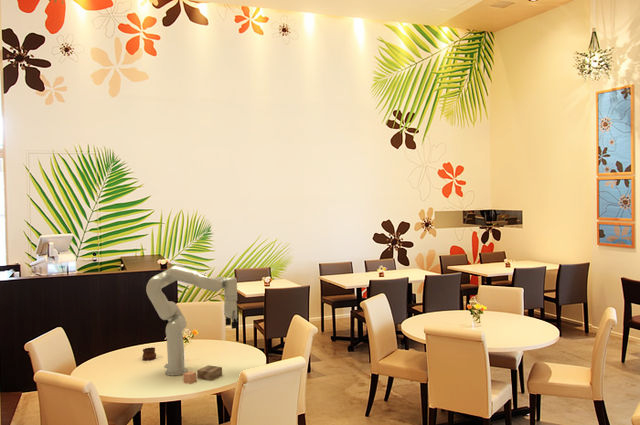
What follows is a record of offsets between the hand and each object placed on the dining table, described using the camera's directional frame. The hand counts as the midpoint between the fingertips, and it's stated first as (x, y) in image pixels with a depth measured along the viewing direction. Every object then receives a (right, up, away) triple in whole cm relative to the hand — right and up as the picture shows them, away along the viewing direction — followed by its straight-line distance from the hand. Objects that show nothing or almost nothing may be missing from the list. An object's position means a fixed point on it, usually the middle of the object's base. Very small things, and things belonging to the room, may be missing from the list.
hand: (231, 326), depth 312 cm
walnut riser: (-11, -27, -10) cm, 31 cm away
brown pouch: (-59, -28, +30) cm, 72 cm away
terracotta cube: (-20, -27, -17) cm, 38 cm away
